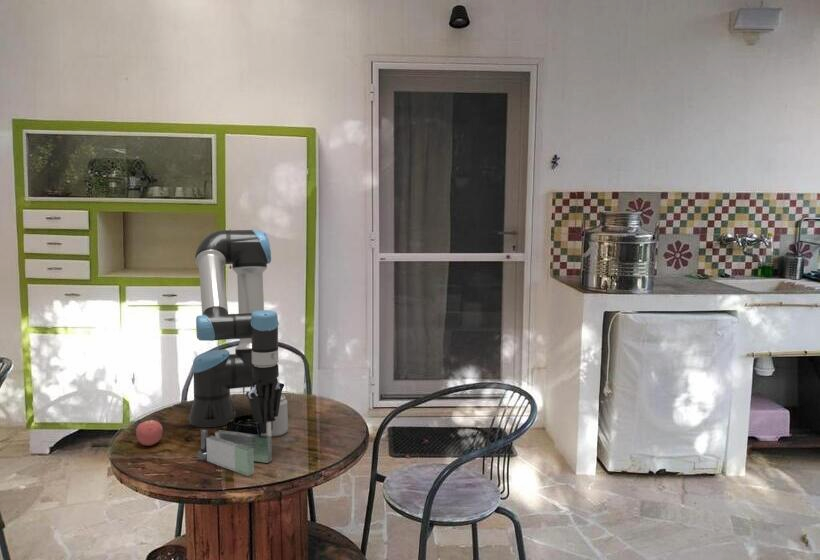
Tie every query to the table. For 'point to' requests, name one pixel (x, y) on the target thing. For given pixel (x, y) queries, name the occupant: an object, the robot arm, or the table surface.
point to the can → (281, 419)
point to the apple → (149, 432)
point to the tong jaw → (250, 443)
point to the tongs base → (226, 454)
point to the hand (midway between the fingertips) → (266, 442)
